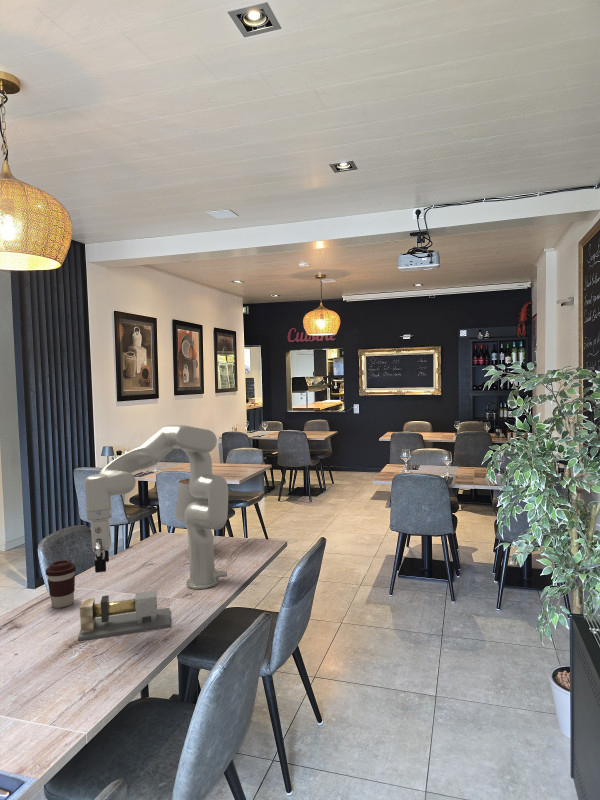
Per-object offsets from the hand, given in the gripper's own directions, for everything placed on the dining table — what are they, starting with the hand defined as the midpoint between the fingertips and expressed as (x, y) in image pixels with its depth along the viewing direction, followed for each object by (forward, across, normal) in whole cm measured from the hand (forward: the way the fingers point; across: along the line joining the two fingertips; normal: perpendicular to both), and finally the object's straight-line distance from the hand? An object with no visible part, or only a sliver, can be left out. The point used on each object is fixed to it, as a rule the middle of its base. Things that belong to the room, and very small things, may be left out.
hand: (102, 566), depth 171 cm
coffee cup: (+20, +26, +17) cm, 37 cm away
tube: (+17, 0, -3) cm, 17 cm away
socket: (+20, 0, +5) cm, 20 cm away
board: (+20, 0, -6) cm, 21 cm away
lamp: (+20, +64, -34) cm, 75 cm away
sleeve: (+20, 0, -13) cm, 24 cm away
